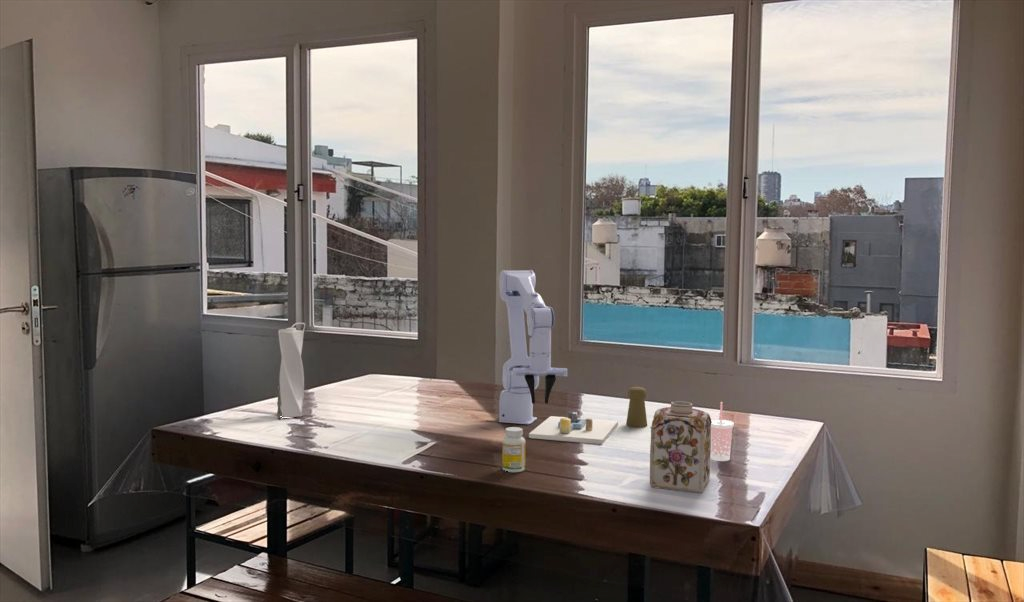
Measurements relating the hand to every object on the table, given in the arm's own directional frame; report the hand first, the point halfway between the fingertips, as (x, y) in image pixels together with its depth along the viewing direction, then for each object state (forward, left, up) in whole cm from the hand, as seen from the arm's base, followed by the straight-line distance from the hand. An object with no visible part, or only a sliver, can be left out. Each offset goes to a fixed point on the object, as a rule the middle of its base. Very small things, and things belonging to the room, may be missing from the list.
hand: (539, 402), depth 221 cm
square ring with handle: (+7, +7, -8) cm, 13 cm away
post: (+7, +10, -9) cm, 15 cm away
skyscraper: (-76, 0, -10) cm, 77 cm away
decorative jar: (+41, -29, -10) cm, 51 cm away
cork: (+23, +22, -10) cm, 33 cm away
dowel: (+12, +7, -9) cm, 17 cm away
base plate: (+8, +9, -9) cm, 15 cm away
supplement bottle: (+3, -31, -10) cm, 32 cm away
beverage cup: (+48, -6, -10) cm, 49 cm away
